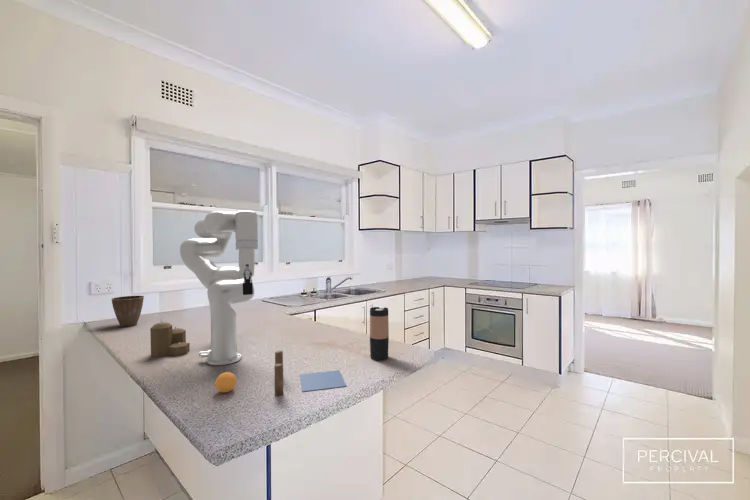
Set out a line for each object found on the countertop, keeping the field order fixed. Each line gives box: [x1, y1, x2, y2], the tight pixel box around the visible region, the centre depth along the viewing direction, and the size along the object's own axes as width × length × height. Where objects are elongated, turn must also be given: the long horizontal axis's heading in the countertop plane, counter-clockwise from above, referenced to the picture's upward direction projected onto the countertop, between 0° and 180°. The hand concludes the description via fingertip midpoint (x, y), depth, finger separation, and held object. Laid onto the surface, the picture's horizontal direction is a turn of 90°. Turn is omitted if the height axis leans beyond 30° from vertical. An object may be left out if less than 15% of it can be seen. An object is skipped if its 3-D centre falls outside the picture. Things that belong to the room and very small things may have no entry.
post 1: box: [274, 350, 284, 365], centre depth 116 cm, size 3×3×9 cm
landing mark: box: [299, 369, 347, 393], centre depth 113 cm, size 14×14×1 cm
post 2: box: [273, 363, 284, 397], centre depth 103 cm, size 3×3×9 cm
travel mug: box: [369, 306, 390, 362], centre depth 135 cm, size 8×8×20 cm
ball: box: [215, 371, 237, 394], centre depth 105 cm, size 6×6×6 cm
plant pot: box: [111, 295, 145, 328], centre depth 191 cm, size 15×15×16 cm
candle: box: [150, 318, 191, 358], centre depth 143 cm, size 14×14×15 cm
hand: (247, 292), depth 121 cm, fingers open, 9 cm apart
